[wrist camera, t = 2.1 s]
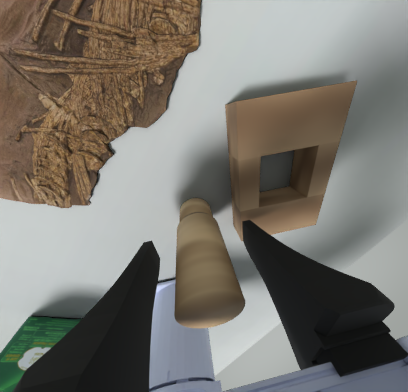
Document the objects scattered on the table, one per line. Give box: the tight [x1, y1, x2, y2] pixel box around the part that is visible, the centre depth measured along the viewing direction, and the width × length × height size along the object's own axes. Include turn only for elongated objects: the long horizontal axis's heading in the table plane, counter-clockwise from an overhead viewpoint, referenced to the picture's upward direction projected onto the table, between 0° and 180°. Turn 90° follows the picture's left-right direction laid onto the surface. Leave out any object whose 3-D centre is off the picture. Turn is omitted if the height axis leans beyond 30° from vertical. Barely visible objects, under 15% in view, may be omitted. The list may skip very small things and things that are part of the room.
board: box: [225, 81, 357, 241], centre depth 13 cm, size 12×8×2 cm, turn 9°
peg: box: [174, 198, 245, 328], centre depth 11 cm, size 4×4×9 cm
